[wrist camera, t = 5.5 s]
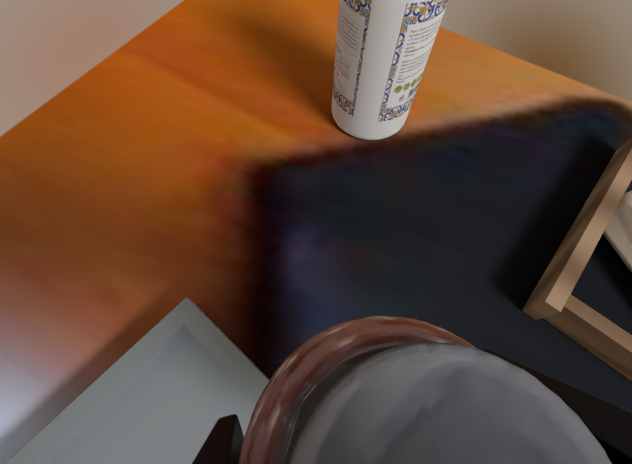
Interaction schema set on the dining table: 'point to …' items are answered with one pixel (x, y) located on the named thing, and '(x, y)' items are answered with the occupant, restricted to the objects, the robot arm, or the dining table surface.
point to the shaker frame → (569, 262)
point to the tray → (155, 399)
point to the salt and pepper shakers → (621, 229)
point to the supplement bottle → (409, 404)
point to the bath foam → (381, 62)
